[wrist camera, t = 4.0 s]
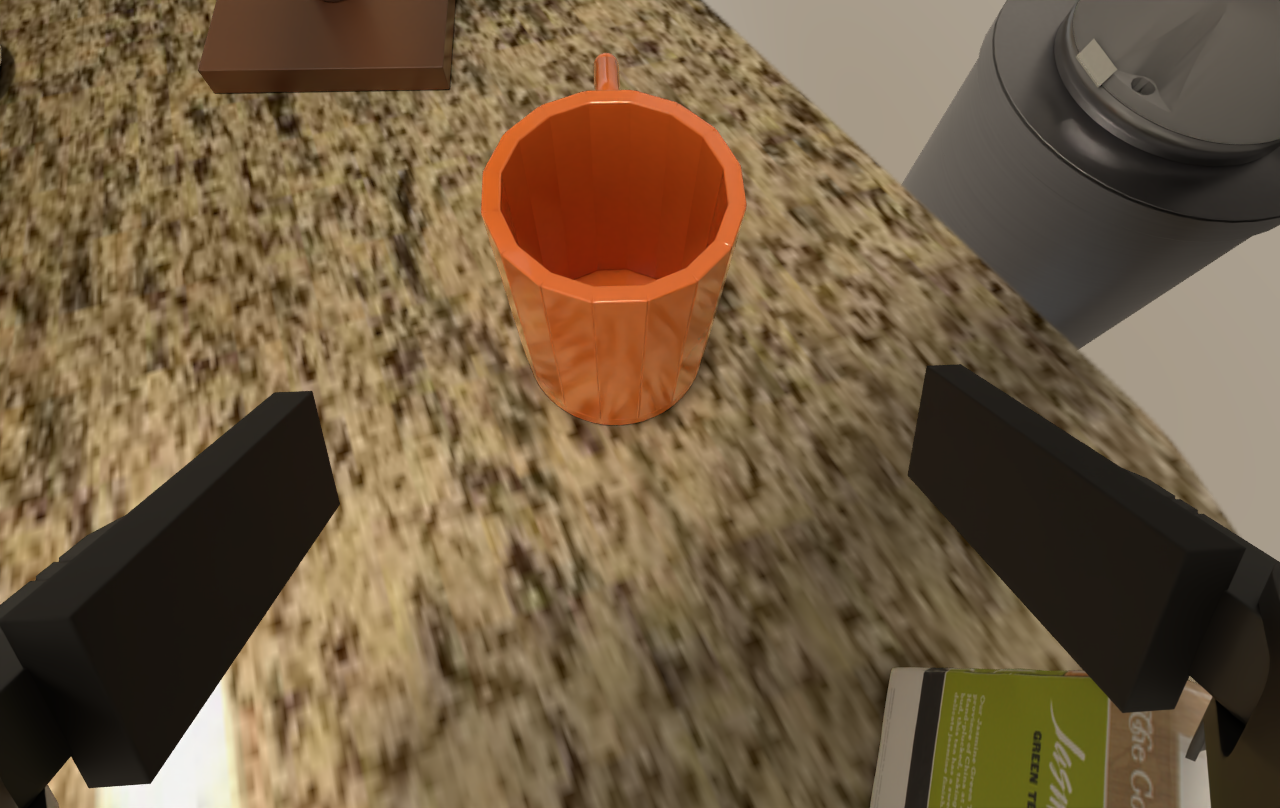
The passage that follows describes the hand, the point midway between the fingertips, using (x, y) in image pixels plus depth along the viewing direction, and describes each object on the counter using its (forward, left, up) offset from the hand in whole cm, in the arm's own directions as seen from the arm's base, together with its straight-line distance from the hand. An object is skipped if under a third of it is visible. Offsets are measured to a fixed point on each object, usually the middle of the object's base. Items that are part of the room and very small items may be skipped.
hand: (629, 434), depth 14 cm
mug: (+2, -11, -14) cm, 18 cm away
